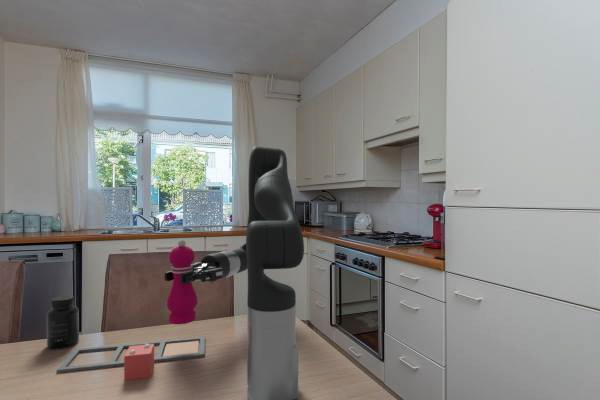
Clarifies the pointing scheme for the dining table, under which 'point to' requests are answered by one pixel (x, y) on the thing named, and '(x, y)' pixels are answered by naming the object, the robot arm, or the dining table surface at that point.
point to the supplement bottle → (62, 323)
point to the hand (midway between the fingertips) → (173, 278)
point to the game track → (172, 350)
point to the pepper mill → (181, 286)
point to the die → (139, 362)
